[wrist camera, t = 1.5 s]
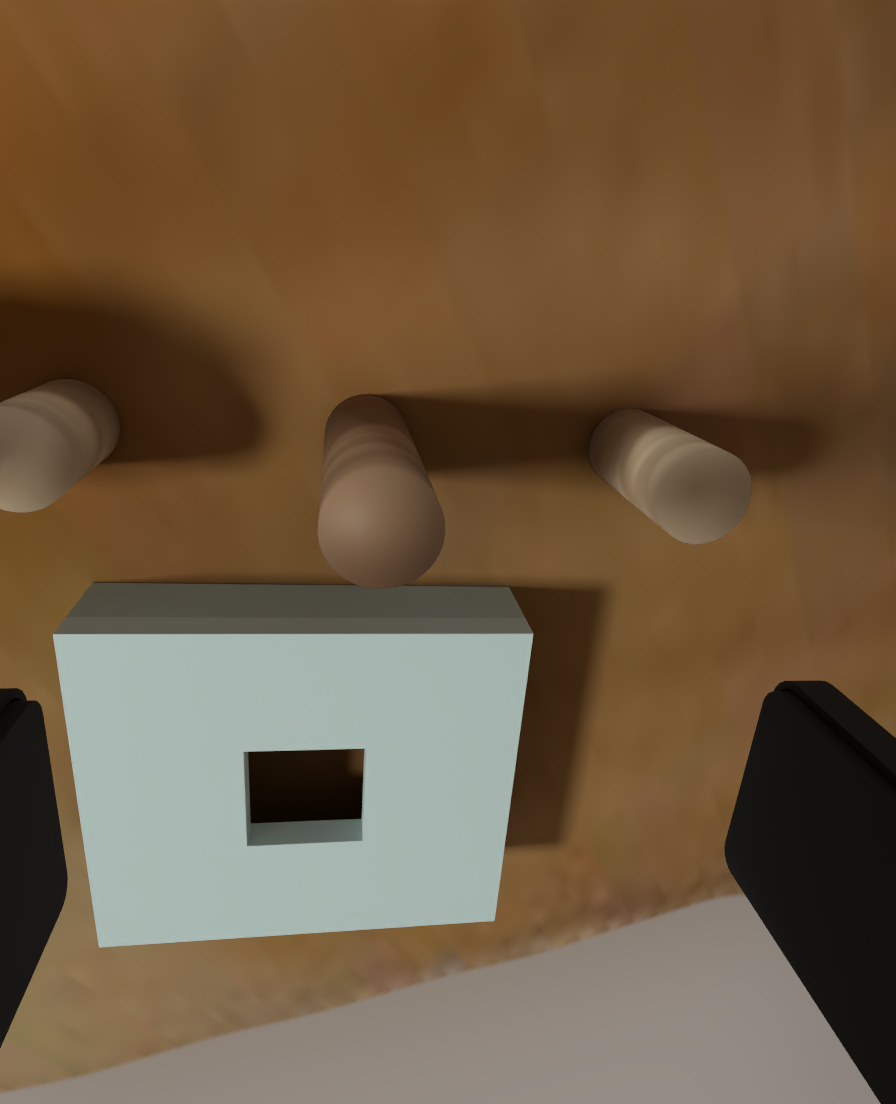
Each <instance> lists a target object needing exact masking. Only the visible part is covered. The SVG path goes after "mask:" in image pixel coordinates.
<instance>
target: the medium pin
mask: <svg viewBox="0 0 896 1104" xmlns="http://www.w3.org/2000/svg"><path fill="white" fill-rule="evenodd" d="M588 455H589V461H590V464H591V466H592V468H593V470H594V471H595V473H596V474H597V475H598V476H599V477H600V478H602V479H603V480H604V481H605V482H607V483H608V484H609V485H610V486H611V487H613V488H614V489H615V490H616V491H618V492H619V493H620V494H621V495H622V496H624V497H625V498H626V499H627V500H628V501H630V502H631V503H632V504H633V505H635V506H636V507H637V508H638V509H639V510H641V511H642V512H643V513H644V514H646V515H647V516H648V517H649V518H650V519H652V520H653V521H654V522H655V523H657V524H658V525H659V526H660V527H661V528H663V529H664V530H665V531H666V532H667V533H669V534H670V535H671V536H672V537H674V538H675V539H677V540H679V541H682V542H684V543H689V544H703V543H708V542H711V541H714V540H717V539H719V538H721V537H722V536H724V535H726V534H727V533H728V532H730V531H731V530H732V529H733V528H734V527H735V526H736V525H737V524H738V523H739V522H740V520H741V519H742V518H743V516H744V514H745V512H746V510H747V508H748V506H749V503H750V499H751V494H752V483H751V477H750V474H749V472H748V469H747V468H746V466H745V465H744V463H743V462H742V461H741V460H740V459H739V458H738V457H736V456H735V455H733V454H731V453H729V452H727V451H725V450H723V449H721V448H719V447H717V446H715V445H713V444H711V443H708V442H706V441H704V440H702V439H700V438H698V437H696V436H694V435H692V434H690V433H688V432H686V431H684V430H682V429H680V428H678V427H676V426H674V425H671V424H669V423H667V422H665V421H663V420H661V419H659V418H657V417H655V416H653V415H651V414H649V413H647V412H645V411H642V410H639V409H633V408H627V409H621V410H618V411H615V412H613V413H611V414H610V415H608V416H607V417H605V418H604V419H603V420H602V421H601V422H600V423H599V424H598V425H597V427H596V428H595V430H594V432H593V434H592V436H591V439H590V442H589V448H588Z"/></svg>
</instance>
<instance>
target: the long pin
mask: <svg viewBox="0 0 896 1104" xmlns="http://www.w3.org/2000/svg"><path fill="white" fill-rule="evenodd" d="M444 536H445V521H444V515H443V512H442V509H441V506H440V504H439V502H438V499H437V497H436V494H435V492H434V490H433V487H432V485H431V482H430V480H429V478H428V475H427V473H426V470H425V468H424V466H423V463H422V461H421V459H420V456H419V454H418V451H417V449H416V447H415V444H414V442H413V439H412V437H411V435H410V432H409V430H408V427H407V425H406V423H405V420H404V418H403V416H402V414H401V413H400V411H399V410H398V409H397V408H396V407H395V406H394V405H393V404H392V403H390V402H389V401H387V400H386V399H384V398H381V397H379V396H375V395H357V396H353V397H350V398H348V399H346V400H344V401H343V402H341V403H340V404H339V405H338V406H337V407H336V408H335V409H334V410H333V412H332V413H331V415H330V416H329V418H328V421H327V424H326V429H325V441H324V454H323V467H322V480H321V493H320V506H319V519H318V540H319V545H320V548H321V551H322V553H323V555H324V557H325V559H326V561H327V562H328V563H329V565H330V566H331V567H332V568H333V570H334V571H335V572H336V573H338V574H339V575H340V576H341V577H343V578H344V579H346V580H347V581H349V582H351V583H353V584H356V585H359V586H362V587H366V588H371V589H389V588H395V587H399V586H402V585H405V584H407V583H410V582H412V581H413V580H415V579H417V578H418V577H420V576H421V575H422V574H424V573H425V572H426V571H427V570H428V569H429V568H430V567H431V565H432V564H433V563H434V562H435V560H436V558H437V557H438V555H439V553H440V551H441V548H442V545H443V542H444Z"/></svg>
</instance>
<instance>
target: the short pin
mask: <svg viewBox="0 0 896 1104" xmlns="http://www.w3.org/2000/svg"><path fill="white" fill-rule="evenodd" d="M119 437H120V422H119V417H118V414H117V412H116V410H115V408H114V406H113V404H112V403H111V402H110V400H109V399H108V398H107V397H106V396H105V395H104V394H103V393H102V392H101V391H99V390H98V389H97V388H95V387H94V386H92V385H90V384H88V383H85V382H82V381H79V380H75V379H57V380H53V381H50V382H47V383H45V384H43V385H40V386H38V387H36V388H33V389H31V390H29V391H26V392H24V393H22V394H19V395H17V396H15V397H12V398H10V399H8V400H5V401H3V402H1V403H0V509H3V510H6V511H11V512H32V511H36V510H40V509H43V508H45V507H47V506H49V505H51V504H52V503H54V502H55V501H56V500H57V499H58V498H60V497H61V496H62V495H63V494H64V493H65V492H67V491H68V490H69V489H70V488H71V487H72V486H74V485H75V484H76V483H77V482H78V481H79V480H81V479H82V478H83V477H84V476H85V475H86V474H88V473H89V472H90V471H91V470H92V469H93V468H95V467H96V466H97V465H98V464H99V463H100V462H102V461H103V460H104V459H105V458H106V457H107V456H109V455H110V454H111V453H112V451H113V450H114V449H115V447H116V445H117V443H118V440H119Z"/></svg>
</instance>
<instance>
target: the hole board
mask: <svg viewBox="0 0 896 1104" xmlns="http://www.w3.org/2000/svg"><path fill="white" fill-rule="evenodd" d="M53 638H54V645H55V652H56V658H57V665H58V672H59V679H60V686H61V692H62V699H63V706H64V713H65V720H66V726H67V733H68V740H69V747H70V754H71V760H72V767H73V774H74V781H75V788H76V794H77V801H78V808H79V815H80V822H81V828H82V835H83V842H84V849H85V856H86V862H87V869H88V876H89V883H90V890H91V896H92V903H93V910H94V917H95V923H96V930H97V937H98V944H99V947H112V946H127V945H142V944H157V943H171V942H186V941H201V940H216V939H231V938H246V937H261V936H276V935H291V934H306V933H321V932H335V931H350V930H365V929H380V928H395V927H410V926H425V925H440V924H455V923H470V922H485V921H494V920H495V913H496V906H497V898H498V891H499V884H500V876H501V869H502V862H503V854H504V847H505V839H506V832H507V825H508V817H509V810H510V803H511V795H512V788H513V781H514V773H515V766H516V759H517V751H518V744H519V736H520V729H521V722H522V714H523V707H524V700H525V692H526V685H527V678H528V670H529V663H530V655H531V648H532V641H533V632H532V630H531V628H530V626H529V624H528V622H527V620H526V619H525V617H524V615H523V613H522V611H521V609H520V607H519V605H518V603H517V601H516V599H515V598H514V596H513V594H512V592H511V590H510V588H509V587H477V586H399V587H395V588H389V589H371V588H366V587H362V586H359V585H274V584H173V583H92V584H91V585H90V587H89V588H88V589H87V591H86V592H85V593H84V595H83V596H82V597H81V598H80V600H79V601H78V602H77V604H76V605H75V606H74V608H73V609H72V610H71V611H70V613H69V614H68V615H67V617H66V618H65V619H64V621H63V622H62V623H61V624H60V626H59V627H58V628H57V630H56V631H55V632H54V634H53ZM330 749H364V771H363V797H362V819H345V820H321V821H298V822H274V823H251V821H250V792H249V763H248V752H255V751H293V750H330Z"/></svg>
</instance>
